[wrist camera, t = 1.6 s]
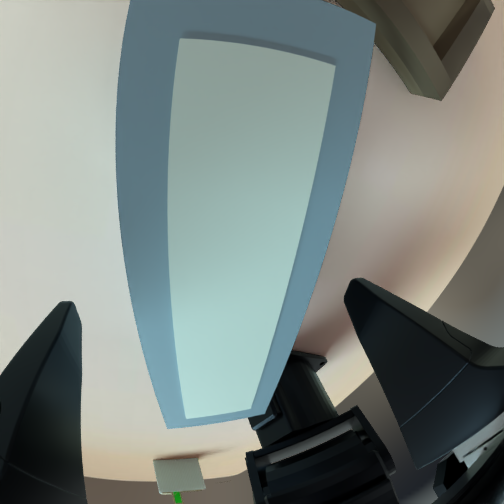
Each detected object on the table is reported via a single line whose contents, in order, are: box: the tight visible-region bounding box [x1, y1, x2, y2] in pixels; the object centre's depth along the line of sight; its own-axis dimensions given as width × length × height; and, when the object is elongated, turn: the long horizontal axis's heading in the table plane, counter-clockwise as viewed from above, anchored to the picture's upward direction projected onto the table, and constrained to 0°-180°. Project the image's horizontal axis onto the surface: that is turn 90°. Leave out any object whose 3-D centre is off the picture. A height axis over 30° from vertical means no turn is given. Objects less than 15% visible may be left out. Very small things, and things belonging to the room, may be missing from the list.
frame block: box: [116, 0, 376, 429], centre depth 10 cm, size 5×16×6 cm, turn 172°
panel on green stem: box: [153, 458, 206, 504], centre depth 29 cm, size 4×7×8 cm, turn 72°
